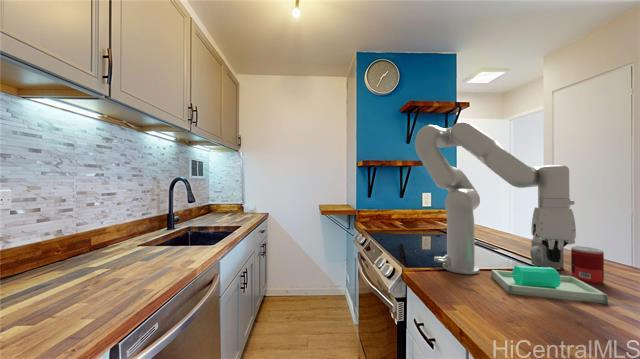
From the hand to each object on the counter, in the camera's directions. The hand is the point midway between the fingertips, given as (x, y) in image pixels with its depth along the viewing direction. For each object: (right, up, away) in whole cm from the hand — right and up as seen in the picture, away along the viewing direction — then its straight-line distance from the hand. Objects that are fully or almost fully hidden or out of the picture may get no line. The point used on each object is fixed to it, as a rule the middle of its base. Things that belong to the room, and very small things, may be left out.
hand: (553, 261), depth 83 cm
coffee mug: (+17, -10, +24) cm, 31 cm away
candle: (0, -5, 0) cm, 5 cm away
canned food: (+19, -10, +8) cm, 23 cm away
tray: (-3, -9, +1) cm, 10 cm away
